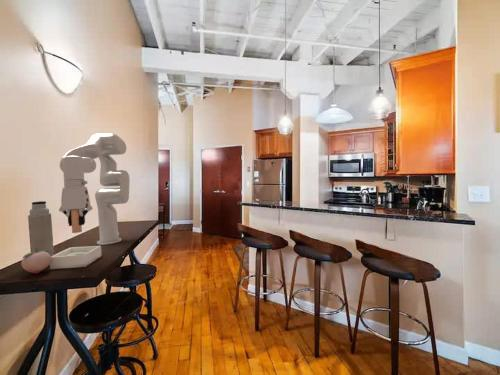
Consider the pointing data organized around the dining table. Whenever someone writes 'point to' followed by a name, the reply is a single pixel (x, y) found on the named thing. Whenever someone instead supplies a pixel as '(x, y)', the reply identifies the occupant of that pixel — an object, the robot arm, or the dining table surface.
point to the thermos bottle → (40, 228)
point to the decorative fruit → (36, 261)
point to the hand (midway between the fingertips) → (76, 224)
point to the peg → (75, 221)
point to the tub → (75, 257)
